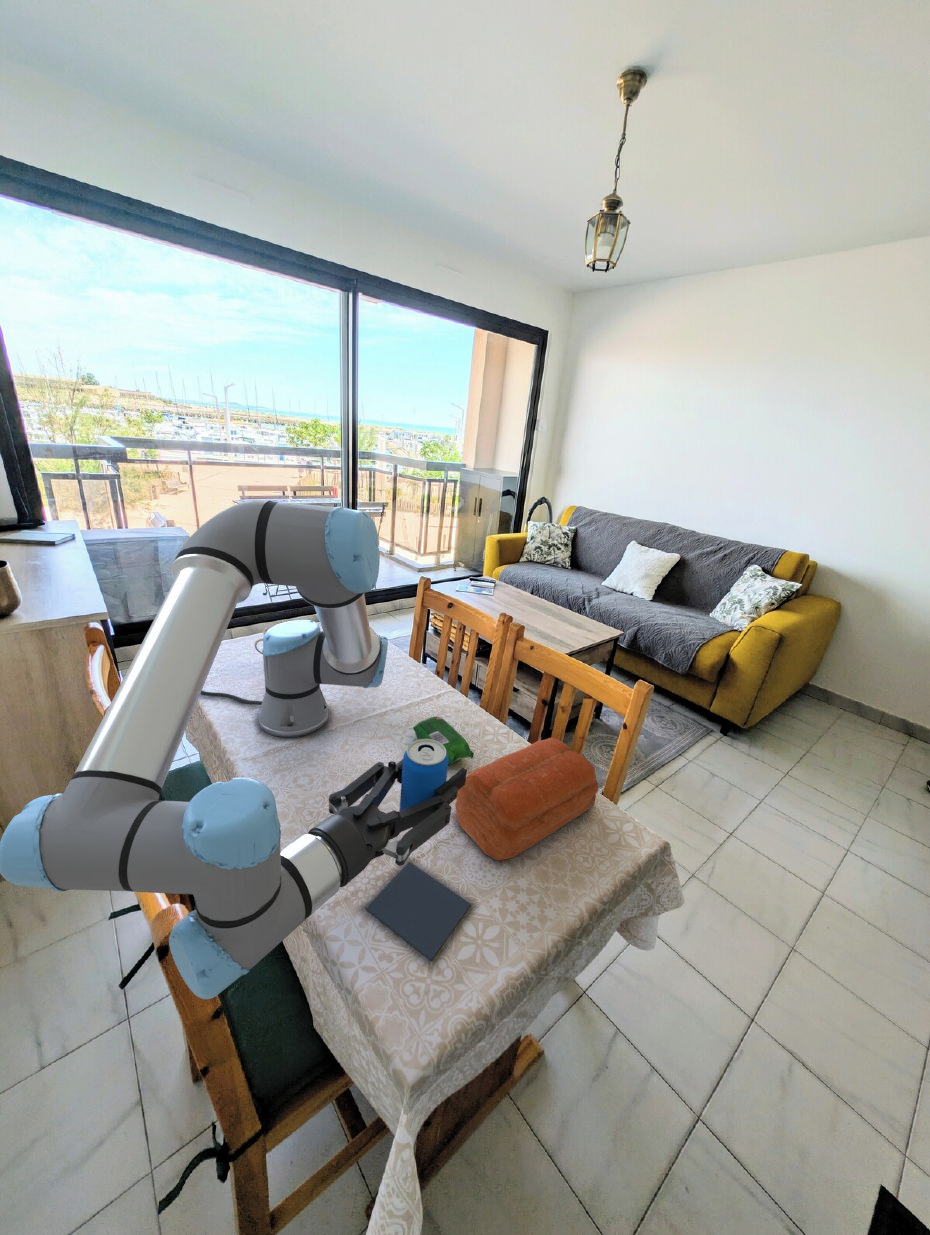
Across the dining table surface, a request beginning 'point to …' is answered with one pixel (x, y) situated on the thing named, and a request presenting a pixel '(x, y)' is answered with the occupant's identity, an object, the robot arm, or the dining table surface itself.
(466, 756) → the snack package
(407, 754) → the beverage can
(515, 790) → the bread
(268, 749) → the dining table surface
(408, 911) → the slate mat
